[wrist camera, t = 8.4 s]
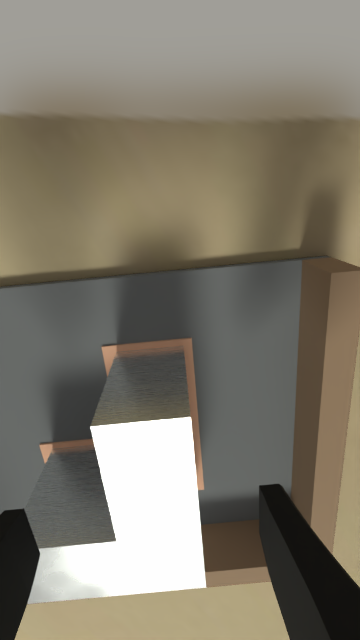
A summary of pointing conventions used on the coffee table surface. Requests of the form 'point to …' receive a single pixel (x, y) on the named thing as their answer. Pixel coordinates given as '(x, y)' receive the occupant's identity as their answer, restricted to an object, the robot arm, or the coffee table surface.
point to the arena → (196, 385)
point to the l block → (123, 491)
